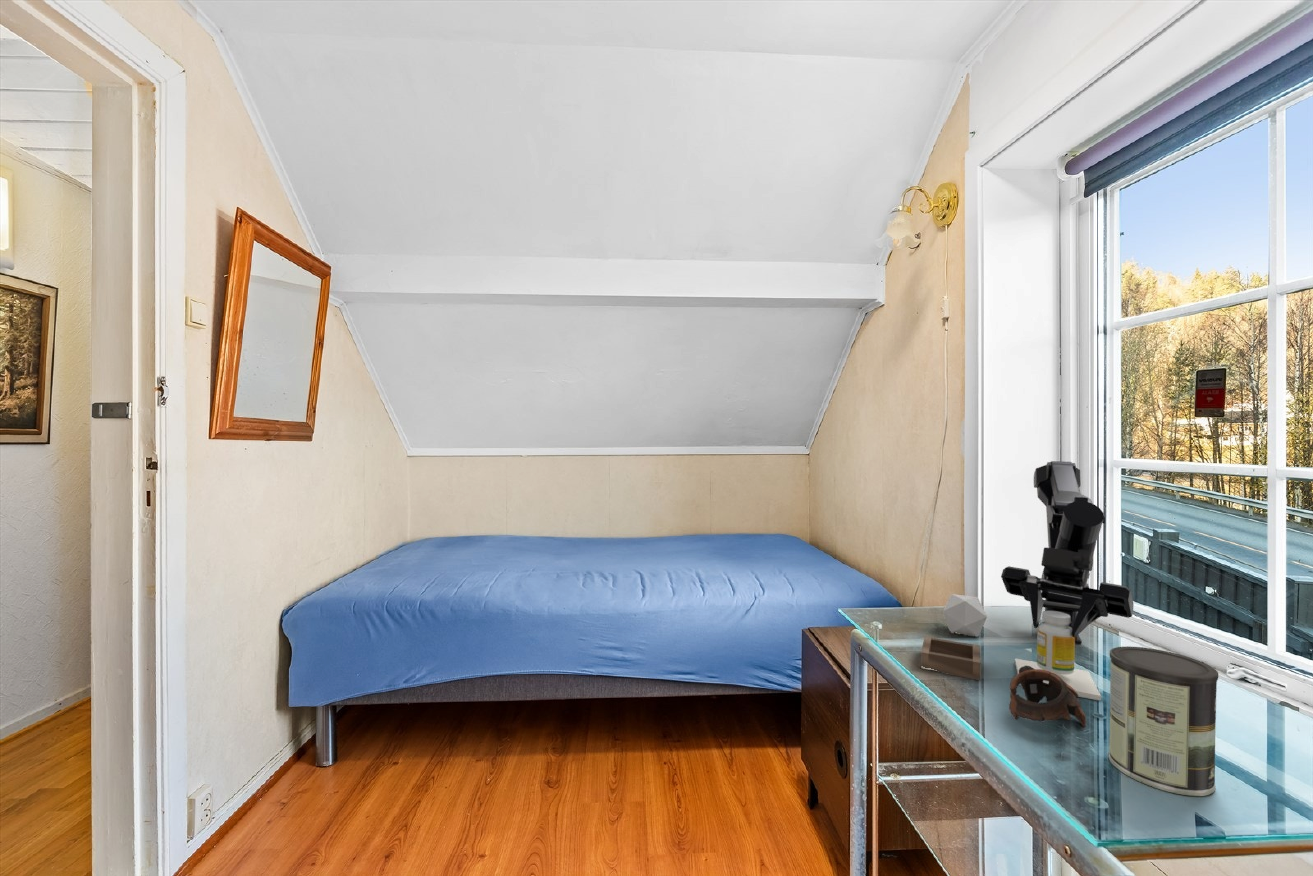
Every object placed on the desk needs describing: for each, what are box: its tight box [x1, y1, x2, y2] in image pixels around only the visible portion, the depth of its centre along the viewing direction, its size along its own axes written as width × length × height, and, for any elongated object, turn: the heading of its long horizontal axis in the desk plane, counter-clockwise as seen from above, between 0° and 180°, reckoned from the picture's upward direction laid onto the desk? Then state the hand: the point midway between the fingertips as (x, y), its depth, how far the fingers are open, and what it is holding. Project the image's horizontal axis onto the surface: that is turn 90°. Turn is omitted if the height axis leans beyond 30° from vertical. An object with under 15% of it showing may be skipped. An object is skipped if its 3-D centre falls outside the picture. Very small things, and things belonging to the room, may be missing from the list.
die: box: [942, 593, 988, 638], centre depth 123 cm, size 8×9×10 cm
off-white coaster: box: [1014, 658, 1102, 702], centre depth 99 cm, size 11×11×1 cm
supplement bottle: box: [1036, 610, 1076, 675], centre depth 99 cm, size 5×5×10 cm
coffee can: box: [1108, 646, 1219, 797], centre depth 72 cm, size 10×10×14 cm
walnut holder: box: [920, 635, 982, 681], centre depth 105 cm, size 9×9×3 cm
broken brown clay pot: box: [1008, 665, 1087, 728], centre depth 86 cm, size 12×10×8 cm
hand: (1053, 631), depth 98 cm, fingers closed on supplement bottle, 5 cm apart
